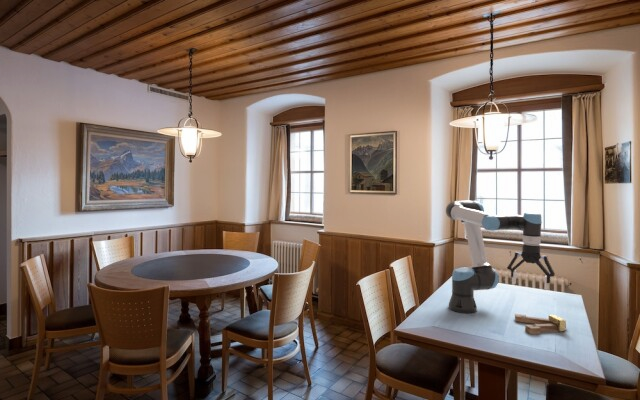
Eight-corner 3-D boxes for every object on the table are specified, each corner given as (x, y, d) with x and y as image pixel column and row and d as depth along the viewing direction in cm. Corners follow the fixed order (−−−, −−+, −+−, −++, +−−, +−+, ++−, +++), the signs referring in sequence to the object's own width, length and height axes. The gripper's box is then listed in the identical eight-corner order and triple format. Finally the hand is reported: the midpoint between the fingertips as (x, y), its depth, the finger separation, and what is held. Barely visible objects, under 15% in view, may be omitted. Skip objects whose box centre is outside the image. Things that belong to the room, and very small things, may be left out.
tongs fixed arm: (524, 330, 176) (525, 324, 175) (559, 328, 178) (559, 323, 178) (530, 334, 171) (531, 328, 171) (565, 332, 173) (566, 326, 173)
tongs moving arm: (514, 318, 191) (515, 313, 190) (563, 324, 182) (563, 319, 182) (516, 322, 185) (516, 317, 185) (566, 329, 176) (566, 324, 176)
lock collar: (548, 325, 181) (548, 315, 180) (553, 325, 181) (554, 314, 181) (559, 331, 173) (560, 320, 173) (565, 331, 174) (565, 320, 174)
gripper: (501, 242, 180) (500, 283, 181) (560, 248, 164) (558, 293, 165) (505, 240, 185) (504, 280, 187) (562, 246, 169) (560, 289, 171)
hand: (529, 286), depth 176 cm, fingers open, 13 cm apart
